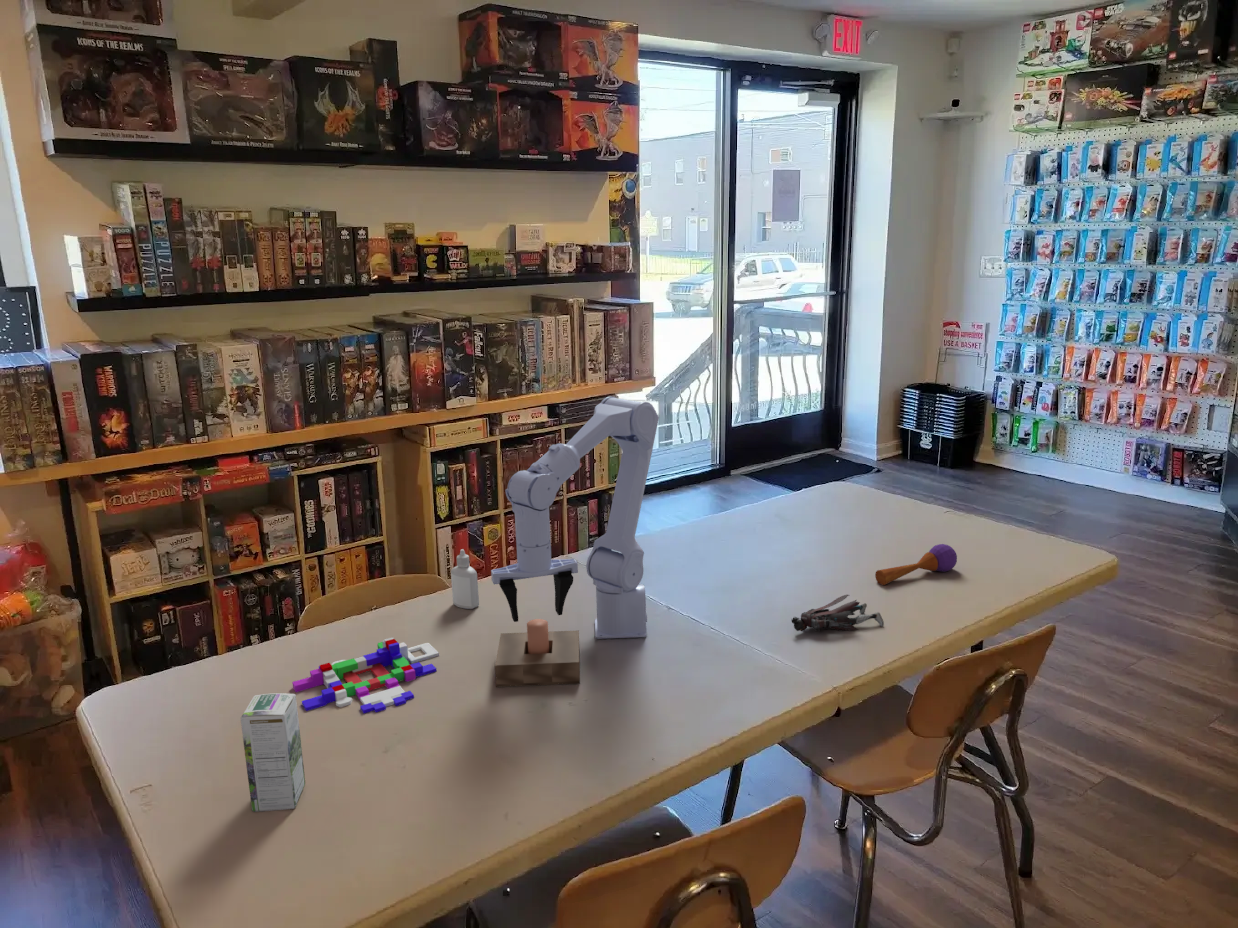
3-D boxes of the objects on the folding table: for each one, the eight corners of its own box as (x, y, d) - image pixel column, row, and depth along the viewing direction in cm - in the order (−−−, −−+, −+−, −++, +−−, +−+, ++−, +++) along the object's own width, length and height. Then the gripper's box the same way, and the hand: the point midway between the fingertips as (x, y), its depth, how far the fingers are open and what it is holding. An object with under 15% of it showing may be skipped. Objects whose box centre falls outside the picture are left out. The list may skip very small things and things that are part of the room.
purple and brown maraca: (869, 562, 192) (941, 539, 199) (873, 588, 193) (944, 565, 200) (888, 566, 186) (961, 543, 194) (892, 593, 187) (964, 569, 195)
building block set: (318, 733, 140) (315, 707, 138) (285, 679, 156) (282, 656, 155) (468, 686, 153) (466, 662, 152) (422, 641, 169) (420, 619, 168)
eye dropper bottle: (460, 612, 180) (456, 556, 177) (451, 602, 185) (447, 547, 182) (481, 607, 182) (477, 552, 179) (471, 597, 187) (467, 543, 184)
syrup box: (264, 786, 126) (251, 693, 122) (307, 784, 126) (295, 691, 122) (251, 813, 120) (237, 716, 116) (297, 809, 121) (284, 713, 117)
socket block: (579, 650, 163) (578, 630, 162) (579, 683, 152) (579, 661, 151) (501, 653, 163) (500, 633, 162) (496, 686, 151) (495, 665, 150)
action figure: (860, 616, 177) (780, 628, 171) (861, 587, 176) (780, 597, 170) (885, 630, 170) (802, 643, 164) (887, 599, 169) (803, 611, 163)
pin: (547, 659, 159) (545, 617, 157) (552, 668, 156) (550, 626, 154) (527, 662, 158) (524, 620, 156) (531, 671, 155) (529, 629, 153)
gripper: (569, 528, 157) (572, 600, 160) (486, 539, 153) (491, 612, 156) (580, 542, 150) (582, 616, 154) (493, 553, 146) (498, 629, 150)
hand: (537, 616), depth 155 cm, fingers open, 7 cm apart
